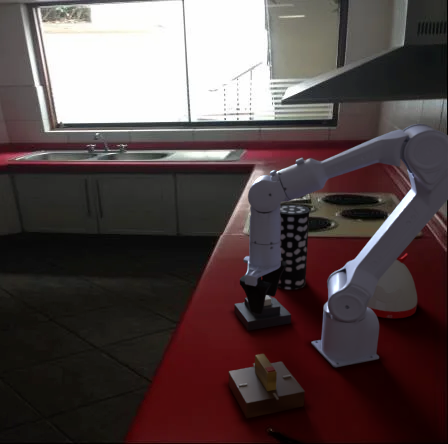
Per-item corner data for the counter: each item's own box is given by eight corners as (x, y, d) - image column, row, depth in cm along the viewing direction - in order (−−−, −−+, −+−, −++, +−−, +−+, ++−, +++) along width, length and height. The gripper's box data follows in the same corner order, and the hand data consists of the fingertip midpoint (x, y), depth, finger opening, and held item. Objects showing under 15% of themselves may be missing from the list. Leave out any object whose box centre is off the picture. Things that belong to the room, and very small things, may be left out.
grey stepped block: (274, 305, 99) (274, 290, 97) (290, 323, 91) (291, 307, 90) (234, 312, 97) (234, 296, 96) (247, 330, 89) (248, 314, 88)
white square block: (265, 299, 95) (265, 292, 94) (271, 305, 92) (271, 298, 91) (252, 301, 94) (253, 294, 94) (258, 307, 91) (258, 300, 91)
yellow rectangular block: (254, 372, 72) (254, 353, 71) (263, 370, 72) (263, 352, 71) (267, 391, 67) (267, 372, 66) (276, 389, 68) (276, 370, 67)
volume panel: (279, 373, 76) (279, 358, 75) (306, 409, 67) (307, 393, 66) (227, 383, 74) (227, 368, 73) (247, 421, 66) (248, 405, 65)
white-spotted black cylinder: (305, 291, 105) (309, 215, 98) (270, 287, 107) (273, 213, 101) (305, 276, 112) (309, 205, 106) (273, 274, 115) (275, 204, 108)
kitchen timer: (348, 285, 106) (353, 230, 101) (410, 292, 101) (419, 234, 96) (350, 313, 94) (356, 251, 89) (421, 322, 89) (431, 257, 84)
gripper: (258, 225, 87) (257, 284, 91) (229, 249, 75) (229, 315, 80) (292, 230, 83) (289, 291, 87) (267, 255, 72) (265, 324, 76)
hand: (263, 303), depth 83 cm, fingers open, 7 cm apart
